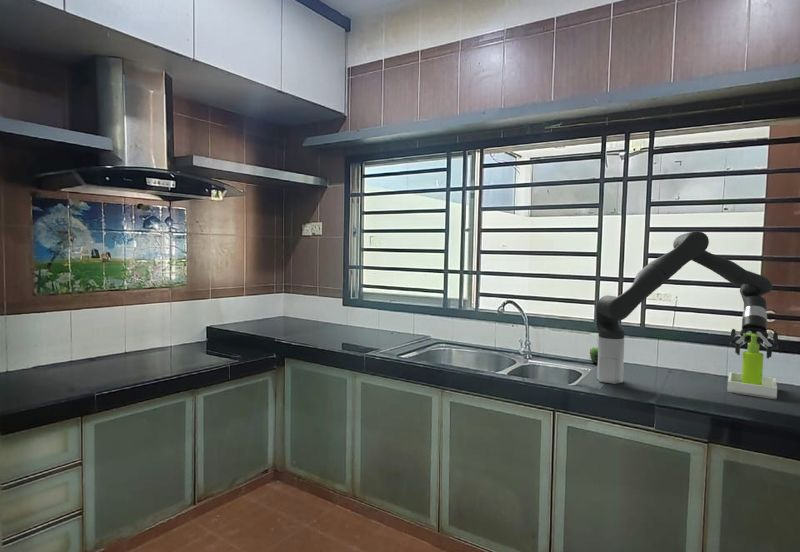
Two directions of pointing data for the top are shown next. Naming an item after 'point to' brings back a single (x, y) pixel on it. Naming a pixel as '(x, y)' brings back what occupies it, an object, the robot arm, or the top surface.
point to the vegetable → (594, 354)
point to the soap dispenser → (752, 362)
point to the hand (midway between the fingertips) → (753, 355)
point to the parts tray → (752, 386)
